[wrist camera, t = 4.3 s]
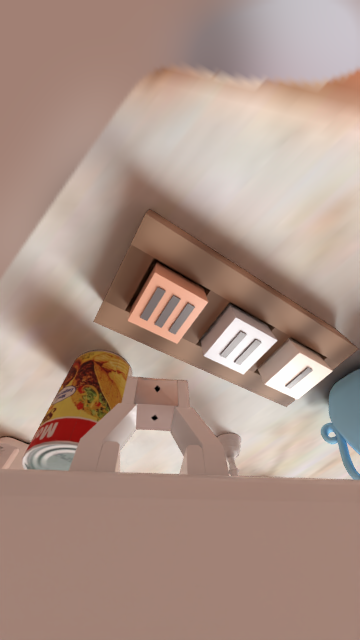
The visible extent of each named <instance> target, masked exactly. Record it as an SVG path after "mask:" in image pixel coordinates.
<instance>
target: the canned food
mask: <svg viewBox="0 0 360 640" xmlns="http://www.w3.org/2000/svg"><path fill="white" fill-rule="evenodd" d="M128 376H130V377H132V370H131V367H130V365H129V364H128V363H127V361H126V360H124V359H123V358H122V357H121V356H119V355H117V354H115V353H112V352H108V351H103V350H95V351H89V352H86V353H84V354H82V355H80V356H79V357H78V358H77V359H76V360H75V362H74V364H73V365H72V367H71V369H70V371H69V373H68V375H67V376H66V378H65V380H64V382H63V384H62V386H61V388H60V389H59V391H58V393H57V395H56V397H55V399H54V400H53V402H52V404H51V406H50V408H49V410H48V411H47V413H46V415H45V417H44V419H43V421H42V423H41V424H40V426H39V428H38V430H37V432H36V434H35V435H34V437H33V439H32V441H31V443H30V445H29V447H28V448H27V450H26V452H25V454H24V456H23V458H22V466H23V468H24V469H30V470H62V471H69V468H70V466H71V463H72V460H73V457H74V455H75V452H76V449H77V446H78V444H79V441H80V439H81V438H82V437H83V436H84V435H85V434H86V433H87V432H88V431H89V430H90V429H91V428H92V427H93V426H95V425H96V424H97V423H98V422H99V421H100V420H101V419H102V418H103V417H104V416H105V415H106V414H107V413H108V412H110V411H111V410H112V409H113V408H114V407H115V406H116V405H117V404H118V403H122V399H123V395H124V390H125V386H126V382H127V378H128Z"/></svg>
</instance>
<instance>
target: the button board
mask: <svg viewBox="0 0 360 640" xmlns="http://www.w3.org/2000/svg"><path fill="white" fill-rule="evenodd" d="M157 262H158V263H160V264H162V265H163V266H165V267H167V268H169V269H170V270H172V271H174V272H176V273H177V274H179V275H181V276H183V277H184V278H186V279H188V280H190V281H191V282H193V283H195V284H196V285H198V286H200V287H202V288H203V289H204V290H205V294H206V297H207V300H208V303H207V304H206V306H205V307H204V309H203V310H202V311H201V313H200V314H199V315H198V317H197V318H196V319H195V321H194V322H193V323H192V325H191V326H190V327H189V329H188V330H187V331H186V333H185V334H184V336H183V337H182V338H181V340H180V341H179V342H178V344H176V343H174V342H172V341H170V340H168V339H166V338H163V337H161V336H159V335H157V334H155V333H153V332H151V331H148V330H146V329H144V328H142V327H140V326H138V325H136V324H133V323H131V322H129V321H128V318H129V315H130V311H131V308H132V305H133V304H134V302H135V300H136V298H137V296H138V295H139V293H140V291H141V289H142V288H143V286H144V284H145V282H146V280H147V279H148V277H149V275H150V273H151V271H152V270H153V268H154V266H155V264H156V263H157ZM228 303H230V304H232V305H233V306H235V307H237V308H239V309H240V310H242V311H244V312H246V313H247V314H249V315H251V316H253V317H254V318H256V319H258V320H260V321H261V322H263V323H265V324H266V325H267V326H268V327H269V329H270V330H271V332H272V333H273V335H274V336H275V337H276V339H277V340H278V341H277V342H276V343H275V344H274V345H273V346H272V347H271V348H270V349H269V350H268V351H267V352H266V353H265V354H264V355H263V356H262V357H261V358H260V359H258V360H257V361H256V362H255V363H254V364H253V365H252V366H251V367H250V368H249V369H248V370H247V371H246V372H245V373H244V374H241V373H239V372H237V371H235V370H233V369H230V368H228V367H226V366H224V365H222V364H220V363H218V362H215V361H213V360H211V359H209V358H207V357H205V356H203V351H202V345H201V340H200V339H201V337H202V336H203V335H204V334H205V332H206V331H207V330H208V329H209V327H210V326H211V325H212V324H213V322H214V321H215V320H216V318H217V317H218V316H219V315H220V313H221V312H222V311H223V310H224V308H225V307H226V306H227V305H228ZM93 322H95V323H98V324H100V325H102V326H104V327H107V328H109V329H111V330H114V331H116V332H118V333H120V334H123V335H125V336H127V337H129V338H132V339H134V340H136V341H138V342H141V343H143V344H145V345H147V346H150V347H152V348H154V349H156V350H159V351H161V352H163V353H166V354H168V355H170V356H172V357H175V358H177V359H179V360H181V361H184V362H186V363H188V364H190V365H193V366H195V367H197V368H199V369H202V370H204V371H206V372H208V373H211V374H213V375H215V376H218V377H220V378H222V379H224V380H227V381H229V382H231V383H233V384H236V385H238V386H240V387H242V388H245V389H247V390H249V391H251V392H254V393H256V394H258V395H260V396H263V397H265V398H267V399H270V400H272V401H274V402H276V403H279V404H281V405H283V406H285V407H287V406H288V405H289V404H291V403H292V402H293V401H294V400H296V399H295V398H293V397H291V396H289V395H287V394H284V393H282V392H280V391H278V390H276V389H274V388H272V387H269V386H267V385H265V384H264V382H263V380H262V378H261V375H260V373H259V371H258V368H259V367H260V366H261V365H262V364H263V363H264V362H265V361H266V360H267V359H268V358H269V357H270V356H271V355H272V354H273V353H274V352H275V351H276V350H277V349H278V348H279V347H280V346H281V345H282V344H283V343H284V342H285V341H286V340H287V339H288V338H291V339H293V340H295V341H296V342H298V343H300V344H302V345H303V346H305V347H307V348H309V349H310V350H312V351H314V352H316V353H317V354H318V355H319V356H320V357H321V358H322V359H323V360H324V361H325V363H326V364H327V365H328V366H329V367H330V368H331V369H332V370H333V369H335V368H336V367H337V366H338V365H340V364H341V363H342V362H343V361H345V360H346V359H347V358H348V357H350V356H351V355H352V354H353V353H355V352H356V351H357V350H358V348H357V347H356V346H355V345H354V344H352V343H351V342H350V341H349V340H348V339H347V338H346V337H344V336H343V335H342V334H341V333H340V332H339V331H338V330H336V329H335V328H334V327H332V326H330V325H329V324H327V323H326V322H324V321H323V320H321V319H320V318H318V317H316V316H315V315H313V314H312V313H310V312H309V311H307V310H306V309H304V308H303V307H301V306H299V305H298V304H296V303H295V302H293V301H292V300H290V299H289V298H287V297H286V296H284V295H282V294H281V293H279V292H278V291H276V290H275V289H273V288H272V287H270V286H269V285H267V284H265V283H264V282H262V281H261V280H259V279H258V278H256V277H255V276H253V275H251V274H250V273H248V272H247V271H245V270H244V269H242V268H241V267H239V266H238V265H236V264H234V263H233V262H231V261H230V260H228V259H227V258H225V257H224V256H222V255H221V254H219V253H217V252H216V251H214V250H213V249H211V248H210V247H208V246H207V245H205V244H203V243H202V242H200V241H199V240H197V239H196V238H194V237H193V236H191V235H190V234H188V233H186V232H185V231H183V230H182V229H180V228H179V227H177V226H176V225H174V224H173V223H171V222H169V221H168V220H166V219H165V218H163V217H162V216H160V215H159V214H157V213H156V212H154V211H152V210H151V209H149V210H148V211H147V212H146V214H145V216H144V218H143V220H142V222H141V224H140V226H139V228H138V230H137V232H136V234H135V236H134V238H133V241H132V243H131V245H130V247H129V249H128V251H127V253H126V255H125V257H124V259H123V261H122V263H121V265H120V267H119V270H118V272H117V274H116V276H115V278H114V280H113V282H112V284H111V286H110V288H109V290H108V292H107V294H106V296H105V299H104V301H103V303H102V305H101V307H100V309H99V311H98V313H97V315H96V317H95V319H94V321H93Z"/></svg>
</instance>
